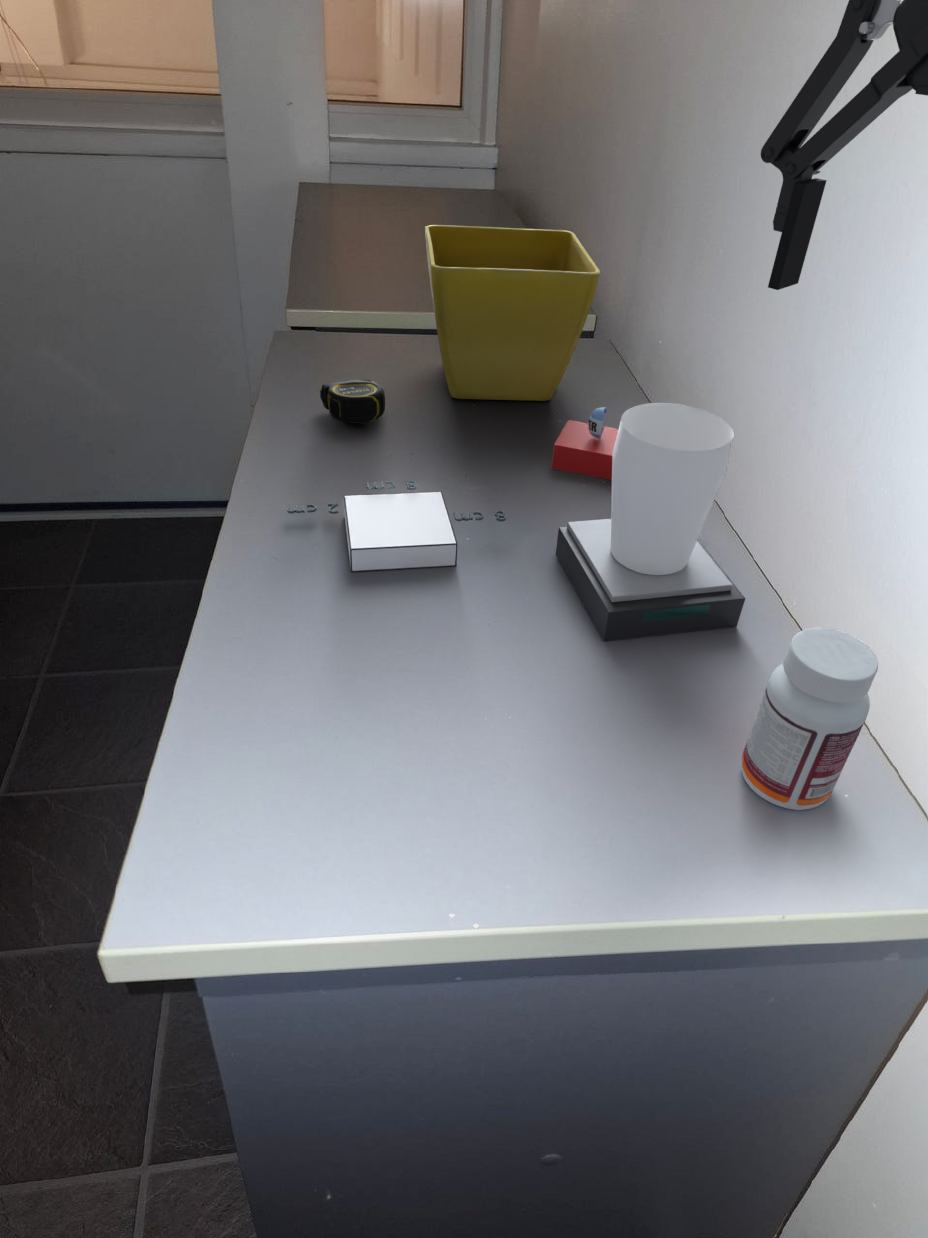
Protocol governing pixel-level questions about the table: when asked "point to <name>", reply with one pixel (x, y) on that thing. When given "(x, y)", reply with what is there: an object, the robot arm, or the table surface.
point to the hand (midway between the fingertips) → (876, 312)
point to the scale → (644, 588)
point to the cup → (665, 483)
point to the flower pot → (507, 307)
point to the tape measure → (354, 400)
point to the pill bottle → (809, 718)
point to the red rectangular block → (586, 446)
